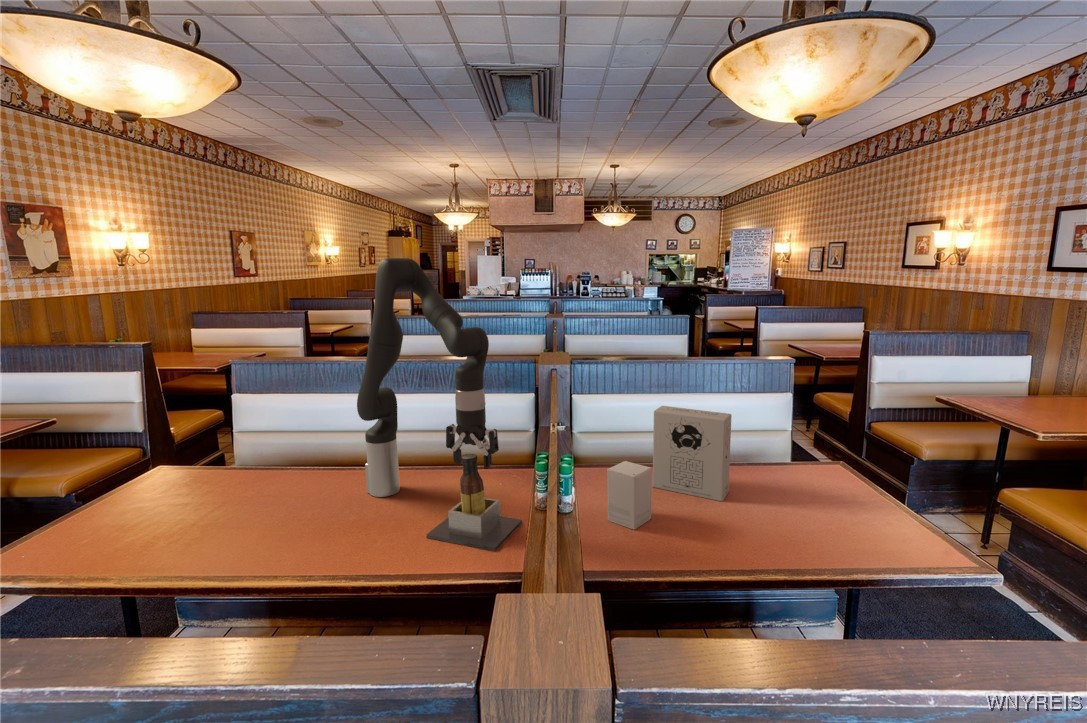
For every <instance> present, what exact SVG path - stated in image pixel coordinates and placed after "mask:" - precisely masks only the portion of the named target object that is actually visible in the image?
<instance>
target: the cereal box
mask: <svg viewBox="0 0 1087 723" xmlns="http://www.w3.org/2000/svg"><path fill="white" fill-rule="evenodd" d="M652 432H653V438H652V439H653V440H652V441H653V443H652V444H653V445H652V446H653V447H652V488H655V489H659V490H664V491H665V490H666V491H670V492H675V493H680V494H683V495H689V496H692V497H693V496H694V497H698V498H702V499H708V500H713V501H718V502H723V501H724V500H725V498H726V496H727V495H728V493H729V490H730V489H729V488H730V487H729V486H730V464H731V463H730V462H731V460H730V459H731V441H732V440H731V437H732V436H731V434H732V414H731V413H726V412H720V411H719V412H718V411H711V410H701V409H693V408H687V407H686V408H683V407H678V406H677V407H676V406H668V405H661V406H660V407H658V408H656V409H654V410H653V431H652Z"/></svg>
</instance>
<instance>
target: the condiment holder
mask: <svg viewBox="0 0 1087 723" xmlns="http://www.w3.org/2000/svg"><path fill="white" fill-rule="evenodd" d="M485 508H486V510H485V511H484V512H483V513H482V514H480V515H476V514H470V513H464V512H462V504H461V501H459V502H458V503H457V504H456V505H454V506H453V507H452V508H451V509H449V510H448V511H447V514H448V515H447V518H445V519H444V520H443V521H442V522H440V523H439V524H437V526H435V527H434V528H432V529H431V530H429V532H427V533H426V538H427V539H429V538H430V539H429V540H434V539H435V541H439V540H441V541H440V542H445V543H450V542H451V543H450V544H455V543H457V544H456V545H460V544H461V545H460V546H465V545H466V546H465V547H471V548H476V549H479V550H486V551H490V552H497V550H498V549H499V548H500V547H501V546H502V545H503V544H504V543H505V542H507V539H509V538H510V537H511V536H512V535H513V534H514V533H515V531H516V530H517V529H518V528H519V527H520V526H521V525H522V524H523V520H522V519H519V518H513V517H509V516H508V517H507V516H501V501H500V499H493V498H488V497H487V498H486V497H485Z"/></svg>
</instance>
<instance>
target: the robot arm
mask: <svg viewBox="0 0 1087 723" xmlns="http://www.w3.org/2000/svg"><path fill="white" fill-rule="evenodd" d="M374 286H375V288H374V290H375V292H374V305H373V306H374V308H373V315H372V323H371V327H370V333H369V339H368V344H367V352H366V353H367V354H366V360H365V365H364V366H365V367H364V372H363V376H362V379H361V383H360V386H359V391H358V394H357V400H356V409H357V414H358V416H359V418H360V419H361V420H363V421H366V422H370V421H375V420H377V421H376V422H375V423H374V424H373V426H371V427H370V428H368V429H367V430H366V432H365V434H364V435H365V436H364V437H365V448H366V450H365V451H366V460H367V462H366V463H365V465H364V470H365V472H364V473H365V483H366V493H368V494H370V496H372V497H375V498H383V497H385V498H386V497H389V496H393V495H396V494H397V493H399V492H400V490H401V486H400V484H401V483H400V468H399V457H398V456H399V455H398V454H399V453H398V440H397V431H398V428H399V427H398V424H399V423H398V400H397V396H396V394H395V392H394V390H393V389H392V388H390V387H387V386H386V387H385V386H384V387H381V385H382V383H383V380H384V379H385V378H386V376H387V375H388V374H389V372H390V371H391V370H392V369H393V368H394V366H395V364H396V363H397V361H398V360H399V358H400V355H401V351H402V346H403V340H404V333H403V332H404V331H403V329H402V327H401V324H400V322H399V321H398V318H397V316H396V314H395V310H394V305H395V304H394V302H395V296H396V293H402V292H412V293H413V294H415V295H416V296H417V297H418V298H419V299H420V301H421V309H422V313H423V315H424V318H425V319H426V320H427V322H428V323H429V324H430V325H431V326H432V327H433V328H434V329H435V330H436V331H437V332H438V334H439V336H440V337H441V340H442V341H443V343H444V345H445V347H446V350H447V351H448V352H449V354H451V355H453V356H454V357H457V358H466V359H465V362H464V363H463V364H461V365H460V366H458V367H457V368H456V369H455V375H454V376H455V395H454V396H455V419H456V420H455V422H456V425H455V424H454V423H452V424H450V425H447V426H446V427H445V429H446V430H445V448H447V449H451V450H452V454H453V455H452V456H453V462H454V465H456V466H459V465H461V464H462V456H463V455H462V449H461V448H462V447H463V445H472V446H477V448H478V449H479V450H481V452H482V453H483V454H484V455H483V469H484V470H488V469H490V467H491V466H492V465H493V461H492V459H493V458H492V456H493V455H494V454H496V453H497V452H498V451H499V448H500V447H499V437H498V436H499V435H498V430H497V428H493V429H487V427H486V422H487V421H486V420H487V419H486V418H487V416H486V396H485V395H486V394H485V390H484V389H485V388H484V385H485V384H484V370H485V366H486V363H487V362H486V361H487V357H488V352H489V346H490V345H489V344H490V343H489V338H488V335H487V333H486V331H485V330H484V328H481V327H475V326H474V327H467V328H462V327H463V326H464V325H463V324H464V321H463V317H462V316H461V314H460V313H459V312H457V311H456V309H455V308H453V307H452V305H450V303H448V302H447V301H446V300H445V299H444V298H443V296H442V295H441V294H440V293H439V292H438V289H436V287H435V285H434V284H433V283H432V281H431V280H430V278H429V277H428V276H427V274H426V272H424V270H423V269H422V267H421V266H420V265H419V263H418V262H416V260H415V259H412V258H408V257H407V258H406V257H401V258H400V257H388V258H387V257H386V258H383V259H381V261H379V263H378V266H377V269H376V274H375V285H374ZM456 434H457V435H458V438H457V439H456V438H455V437H456ZM486 437H487V438H486Z"/></svg>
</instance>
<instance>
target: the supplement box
mask: <svg viewBox="0 0 1087 723" xmlns="http://www.w3.org/2000/svg"><path fill="white" fill-rule="evenodd" d="M606 474H607V476H606V477H607V486H606V487H607V490H606V491H607V493H606V494H607V521H608V522H611V523H613V524H617V525H620V526H622V527H625V528H628V529H631V530H633V531H635V530H636V529H638V528H639V527H640V526H642V525H644V524H645V523H647V522H648V521H650V520H651V519H652V484H653V467H650V466H646V465H642V464H639V463H634V462H631V461H627V460H624V461H621V462H620V463H617V464H616V465H612V466H611V467H609V468H607V469H606Z"/></svg>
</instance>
